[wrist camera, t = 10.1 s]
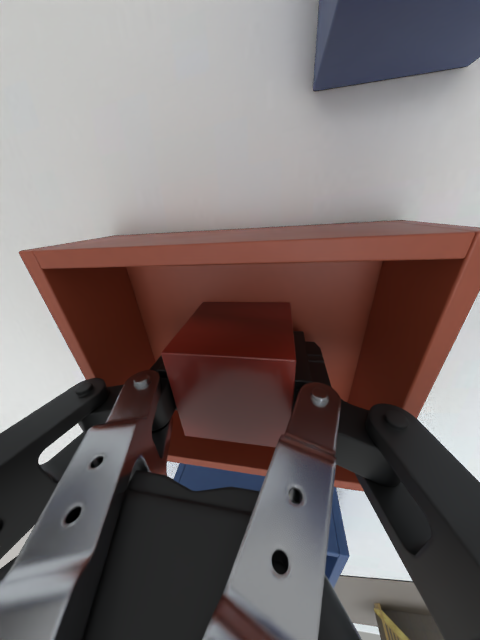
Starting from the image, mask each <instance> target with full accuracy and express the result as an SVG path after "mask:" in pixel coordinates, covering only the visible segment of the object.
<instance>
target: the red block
mask: <svg viewBox="0 0 480 640" xmlns="http://www.w3.org/2000/svg"><path fill="white" fill-rule="evenodd" d="M161 356H162V359H163V362H164V366H165V369H166V373H167V376H168V379H169V383H170V386H171V390H172V393H173V397H174V400H175V403H176V407H177V410H178V414H179V417H180V420H181V424H182V427H183V431H184V434H185V436H191V437H199V438H207V439H214V440H222V441H230V442H238V443H245V444H253V445H261V446H268V447H276V445H277V443H278V440H279V438H280V436H281V435H282V434H283V435H284V433H285V431H286V428H287V425H288V422H289V420H290V417H291V414H292V411H293V398H294V385H295V372H296V352H295V343H294V333H293V323H292V314H291V304H290V303H275V302H203V303H202V304H201V305H200V306H199V307H198V309H197V310H196V311H195V312H194V313H193V315H192V316H191V317H190V318H189V320H188V321H187V322H186V323H185V324H184V326H183V327H182V328H181V329H180V330H179V332H178V333H177V334H176V335H175V336H174V338H173V339H172V340H171V341H170V342H169V344H168V345H167V346H166V347H165V349H164V350H163V351H162V352H161Z"/></svg>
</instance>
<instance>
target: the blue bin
mask: <svg viewBox="0 0 480 640" xmlns="http://www.w3.org/2000/svg"><path fill="white" fill-rule="evenodd" d="M264 479H265V476H261V475H254V474H248V473H241V472H235V471H228V470H222V469H216V468H209V467H203V466H196V465H190V464H183V463H180V464H179V467H178V469H177V472H176V474H175V477H174V479H173V480H175V481H176V482H178V483H180V484H182V485H183V486H185V487H187V488H189V489H190V490H193V491H202V490H209V489H216V488H223V487H231V486H232V487H238V488H244V489H250V490H256V491H260V490H261V487H262V484H263V482H264ZM348 558H349V551H348V546H347V541H346V536H345V531H344V526H343V521H342V516H341V511H340V506H339V501H338V496H337V491H336V487H334V490H333V500H332V509H331V519H330V528H329V538H328V547H327V557H326V567H325V575H326V576H327V578H328V580H329V582H330V583H331V585H332V587H333V589H334V587H335V584H336V582H337V580H338V578H339V576H340V574H341V572H342V570H343V568H344V566H345V564H346V562H347V560H348Z"/></svg>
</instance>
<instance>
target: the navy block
mask: <svg viewBox="0 0 480 640" xmlns="http://www.w3.org/2000/svg"><path fill="white" fill-rule="evenodd" d="M479 57H480V0H319V12H318V26H317V40H316V54H315V68H314V82H313V90H314V91H318V90H324V89H330V88H336V87H342V86H349V85H355V84H361V83H367V82H373V81H379V80H386V79H392V78H398V77H404V76H410V75H416V74H423V73H429V72H435V71H441V70H447V69H454V68H460V67H466V66H468V65H470V64H471V63H473V62H474V61H475V60H476V59H478V58H479Z"/></svg>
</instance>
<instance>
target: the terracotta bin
mask: <svg viewBox="0 0 480 640" xmlns="http://www.w3.org/2000/svg"><path fill="white" fill-rule="evenodd" d="M19 254H20V256H21V258H22V260H23V262H24V264H25V266H26V268H27V269H28V271H29V273H30V275H31V277H32V279H33V281H34V283H35V284H36V286H37V288H38V290H39V292H40V294H41V296H42V298H43V300H44V301H45V303H46V305H47V307H48V309H49V311H50V313H51V315H52V317H53V318H54V320H55V322H56V324H57V326H58V328H59V330H60V332H61V333H62V335H63V337H64V339H65V341H66V343H67V345H68V347H69V349H70V350H71V352H72V354H73V356H74V358H75V360H76V362H77V364H78V366H79V367H80V369H81V371H82V373H83V375H84V377H85V379H86V380H88V379H91V378H101V379H103V380H104V381H105V383H106V385H107V387H111V386H117V385H123V384H124V383H125V382H126V381H127V379H128V378H130V377H131V376H132V375H134V374H136V373H138V372H141V371H144V370H149V369H150V368H151V367H152V366H153V365H154V363H155V362H156V361H157V360H158V358H159V357H160V356H161V352H162V351H163V350H164V349H165V347H166V346H167V345H168V344H169V342H170V341H171V340H172V339H173V338H174V336H175V335H176V334H177V333H178V332H179V330H180V329H181V328H182V327H183V326H184V324H185V323H186V322H187V321H188V320H189V318H190V317H191V316H192V315H193V313H194V312H195V311H196V310H197V309H198V307H199V306H200V305H201V304H202V303H203V302H275V303H290V304H291V314H292V323H293V331H303V332H304V338H305V341H309V342H315V343H316V344H317V345H318V346H319V347H320V348H321V352H322V355H323V359H324V363H325V366H326V369H327V373H328V376H329V380H330V383H331V387H332V388H333V389H334V390H335V391H336V392H337V393H338V394H339V396H340V398H341V399H342V400H344V401H345V402H347V403H349V404H352V405H354V406H357V407H360V408H363V409H366V410H370V408H371V407H372V406H374V405H376V404H381V403H385V404H391V405H395V406H397V407H400V408H402V409H404V410H406V411H407V412H409V413H410V414H412V415H413V416H414V417H415V418H416V419H417V417H418V415H419V413H420V411H421V409H422V407H423V405H424V403H425V401H426V399H427V397H428V395H429V393H430V391H431V389H432V387H433V384H434V382H435V380H436V378H437V376H438V374H439V372H440V370H441V368H442V366H443V364H444V362H445V360H446V358H447V356H448V354H449V352H450V350H451V348H452V346H453V344H454V342H455V340H456V338H457V335H458V333H459V331H460V329H461V327H462V325H463V323H464V321H465V319H466V317H467V315H468V313H469V311H470V309H471V307H472V305H473V303H474V301H475V299H476V297H477V295H478V293H479V291H480V228H479V227H468V226H458V225H447V224H437V223H426V222H416V221H406V220H395V221H377V222H358V223H340V224H321V225H303V226H284V227H266V228H247V229H229V230H210V231H192V232H173V233H155V234H136V235H118V236H109V237H103V238H97V239H90V240H84V241H78V242H72V243H66V244H60V245H54V246H48V247H41V248H35V249H29V250H23V251H20V252H19ZM172 417H173V427H172V433H171V439H170V445H169V451H168V457H167V461H170V462H177V463H183V464H190V465H196V466H203V467H209V468H216V469H222V470H228V471H235V472H241V473H248V474H254V475H261V476H266V473H267V470H268V468H269V465H270V462H271V459H272V457H273V454H274V451H275V448H276V447H268V446H261V445H253V444H245V443H238V442H230V441H222V440H214V439H207V438H199V437H191V436H185V434H184V431H183V427H182V424H181V420H180V417H179V414H178V410H175V411H174V413H173V415H172ZM334 487H339V488H345V489H351V490H358V491H364V490H363V488H362V486H361V485H360V483H359V481H358V479H357V477H356V475H355V473H353V472H351V471H349V470H347V469H345V468H343V467H341V466H338V465H336V471H335V481H334Z"/></svg>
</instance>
